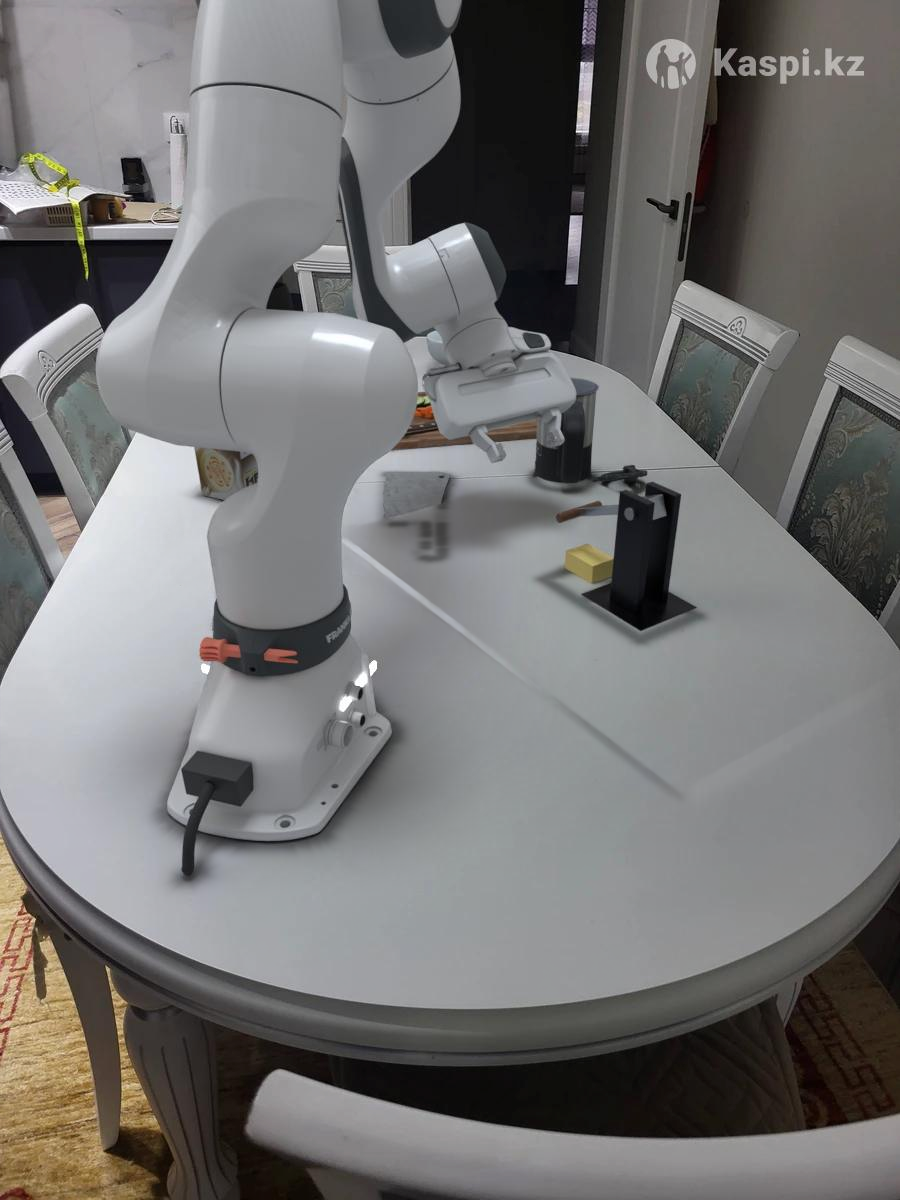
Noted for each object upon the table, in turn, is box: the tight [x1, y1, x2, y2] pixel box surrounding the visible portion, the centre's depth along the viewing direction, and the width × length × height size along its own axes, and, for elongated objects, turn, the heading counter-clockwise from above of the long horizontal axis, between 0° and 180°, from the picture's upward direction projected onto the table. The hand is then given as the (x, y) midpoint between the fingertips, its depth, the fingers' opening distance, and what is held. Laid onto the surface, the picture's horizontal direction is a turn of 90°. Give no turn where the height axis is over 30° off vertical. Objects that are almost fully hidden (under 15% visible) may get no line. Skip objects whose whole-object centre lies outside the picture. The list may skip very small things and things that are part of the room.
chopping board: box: [391, 391, 537, 451], centre depth 163 cm, size 45×27×3 cm, turn 102°
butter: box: [564, 543, 614, 585], centre depth 109 cm, size 5×4×3 cm
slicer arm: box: [555, 494, 667, 524], centre depth 103 cm, size 14×6×2 cm, turn 34°
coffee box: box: [193, 447, 258, 501], centre depth 131 cm, size 9×6×16 cm
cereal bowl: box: [426, 330, 450, 366], centre depth 192 cm, size 17×17×7 cm
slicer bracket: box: [580, 481, 698, 632], centre depth 101 cm, size 10×9×15 cm
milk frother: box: [532, 377, 648, 484], centre depth 134 cm, size 14×16×15 cm
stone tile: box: [383, 471, 451, 520], centre depth 128 cm, size 29×1×10 cm
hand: (529, 452), depth 113 cm, fingers open, 8 cm apart
